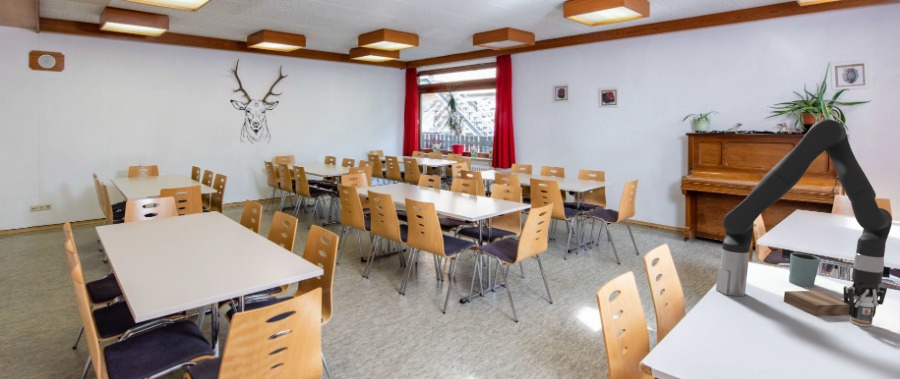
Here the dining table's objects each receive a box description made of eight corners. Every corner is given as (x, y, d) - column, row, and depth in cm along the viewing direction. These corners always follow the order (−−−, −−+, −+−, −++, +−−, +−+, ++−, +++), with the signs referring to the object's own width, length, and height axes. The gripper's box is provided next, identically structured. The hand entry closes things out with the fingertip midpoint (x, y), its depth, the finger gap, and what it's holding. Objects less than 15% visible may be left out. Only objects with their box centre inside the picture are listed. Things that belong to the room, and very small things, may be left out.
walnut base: (815, 316, 168) (816, 305, 167) (783, 301, 181) (784, 291, 181) (851, 315, 169) (853, 304, 169) (817, 300, 183) (818, 290, 182)
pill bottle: (875, 328, 159) (879, 299, 157) (855, 326, 160) (859, 297, 158) (864, 321, 164) (868, 293, 163) (845, 319, 165) (849, 291, 164)
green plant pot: (790, 278, 210) (793, 251, 208) (818, 283, 203) (822, 256, 201) (784, 283, 203) (788, 255, 201) (814, 289, 196) (818, 260, 194)
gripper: (876, 264, 164) (869, 311, 166) (838, 265, 162) (832, 312, 164) (899, 270, 156) (891, 320, 159) (859, 271, 155) (852, 321, 157)
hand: (861, 316), depth 161 cm, fingers closed on pill bottle, 5 cm apart
